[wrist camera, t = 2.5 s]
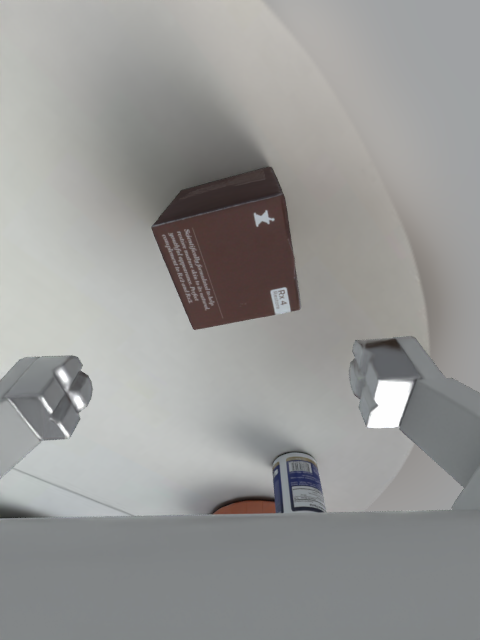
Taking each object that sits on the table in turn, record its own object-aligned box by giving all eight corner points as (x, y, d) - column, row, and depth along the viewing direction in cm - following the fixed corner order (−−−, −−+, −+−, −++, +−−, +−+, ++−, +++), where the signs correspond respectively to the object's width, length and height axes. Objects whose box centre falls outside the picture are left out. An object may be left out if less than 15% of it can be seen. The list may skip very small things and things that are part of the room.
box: (179, 187, 19) (146, 222, 13) (273, 164, 18) (285, 189, 12) (207, 273, 22) (191, 333, 16) (287, 256, 21) (302, 313, 15)
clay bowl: (305, 495, 41) (311, 538, 37) (302, 537, 49) (306, 576, 45) (203, 497, 42) (199, 538, 38) (216, 537, 50) (213, 575, 46)
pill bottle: (289, 479, 39) (300, 574, 31) (263, 461, 37) (267, 559, 29) (325, 465, 37) (346, 563, 29) (299, 445, 34) (315, 546, 26)
